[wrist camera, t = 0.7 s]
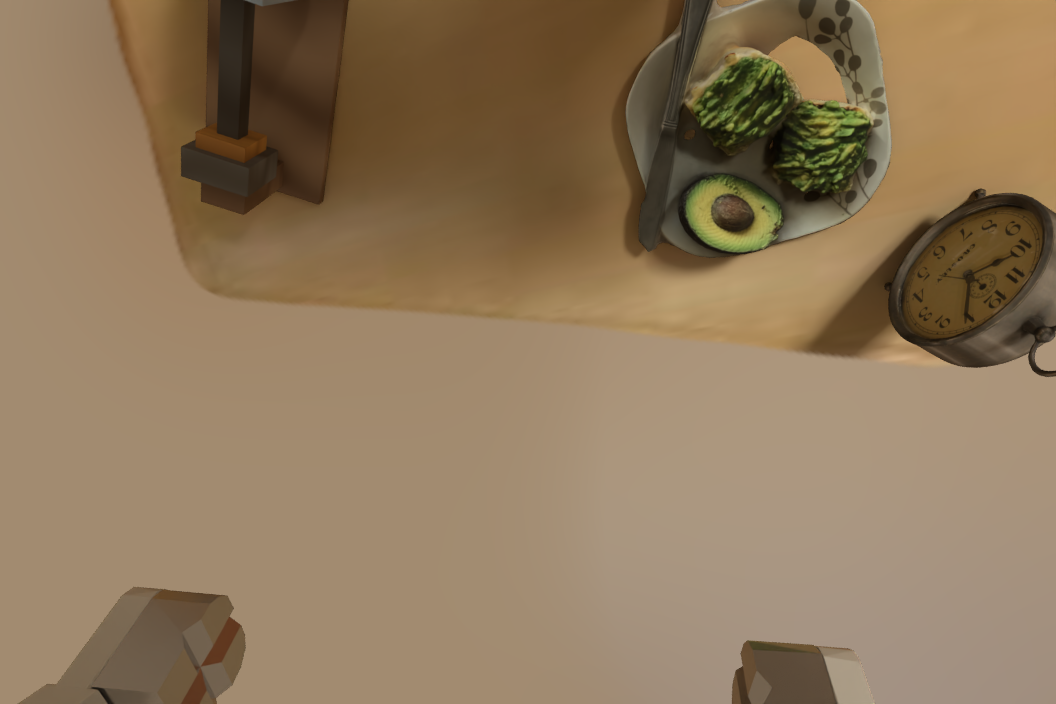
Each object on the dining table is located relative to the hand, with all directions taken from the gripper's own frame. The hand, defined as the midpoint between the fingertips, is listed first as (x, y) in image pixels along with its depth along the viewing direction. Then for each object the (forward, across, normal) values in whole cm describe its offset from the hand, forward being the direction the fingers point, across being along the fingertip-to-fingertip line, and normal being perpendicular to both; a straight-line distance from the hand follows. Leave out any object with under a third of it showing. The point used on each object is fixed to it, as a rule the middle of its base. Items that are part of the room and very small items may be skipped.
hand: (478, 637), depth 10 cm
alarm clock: (+42, -27, +11) cm, 51 cm away
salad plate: (+42, -12, +3) cm, 44 cm away
